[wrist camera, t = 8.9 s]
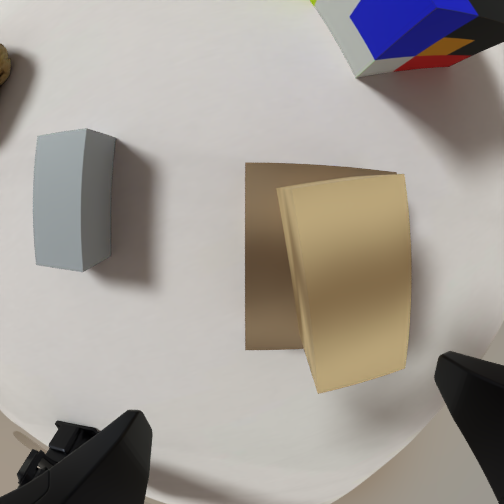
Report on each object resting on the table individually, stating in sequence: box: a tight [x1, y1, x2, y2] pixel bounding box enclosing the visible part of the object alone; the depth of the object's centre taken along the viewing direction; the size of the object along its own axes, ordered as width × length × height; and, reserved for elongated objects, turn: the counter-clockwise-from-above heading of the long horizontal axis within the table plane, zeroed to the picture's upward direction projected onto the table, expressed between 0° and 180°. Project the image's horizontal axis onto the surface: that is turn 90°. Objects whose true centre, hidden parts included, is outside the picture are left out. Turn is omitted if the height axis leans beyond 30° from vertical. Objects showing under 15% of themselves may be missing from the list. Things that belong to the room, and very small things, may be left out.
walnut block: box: [245, 163, 397, 350], centre depth 16 cm, size 10×8×4 cm
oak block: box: [276, 174, 411, 394], centre depth 12 cm, size 8×4×5 cm, turn 11°
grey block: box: [33, 128, 116, 272], centre depth 15 cm, size 8×4×4 cm, turn 175°
